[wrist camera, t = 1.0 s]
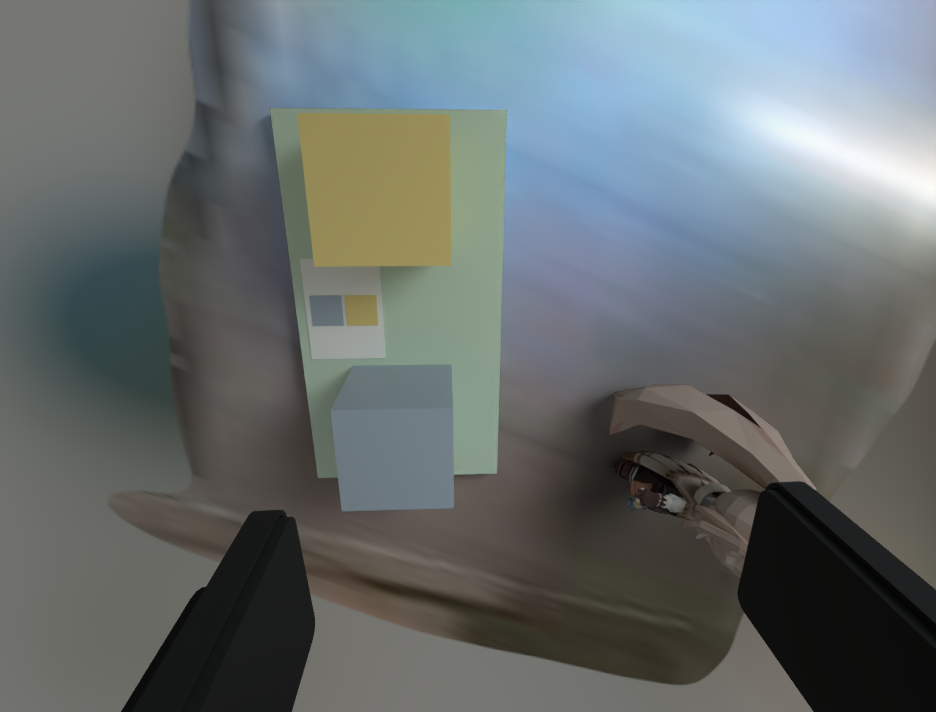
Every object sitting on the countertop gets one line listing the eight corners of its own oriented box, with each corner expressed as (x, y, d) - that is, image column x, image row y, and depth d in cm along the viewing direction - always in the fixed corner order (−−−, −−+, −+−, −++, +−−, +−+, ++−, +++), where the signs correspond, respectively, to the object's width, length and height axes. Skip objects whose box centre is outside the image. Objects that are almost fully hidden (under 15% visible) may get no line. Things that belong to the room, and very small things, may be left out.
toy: (569, 483, 33) (701, 611, 18) (597, 365, 32) (754, 395, 18) (685, 506, 34) (901, 644, 19) (713, 392, 34) (953, 442, 19)
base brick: (353, 365, 28) (330, 410, 23) (451, 364, 29) (453, 408, 23) (360, 451, 30) (341, 511, 25) (452, 448, 31) (454, 508, 25)
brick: (332, 130, 24) (297, 113, 18) (448, 131, 24) (449, 114, 18) (342, 249, 26) (314, 266, 20) (450, 248, 26) (451, 265, 20)
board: (277, 111, 24) (268, 107, 23) (504, 113, 25) (507, 109, 24) (322, 467, 32) (317, 479, 31) (495, 463, 33) (497, 474, 31)
